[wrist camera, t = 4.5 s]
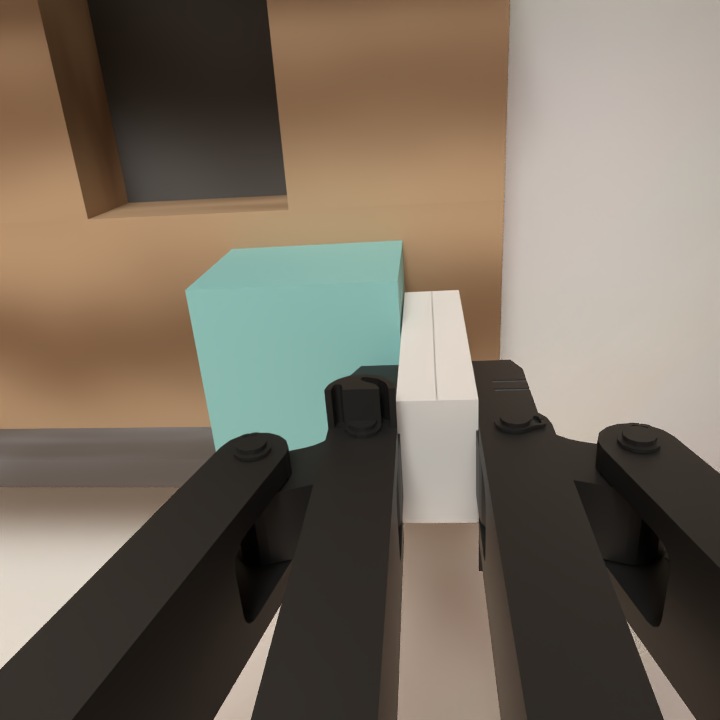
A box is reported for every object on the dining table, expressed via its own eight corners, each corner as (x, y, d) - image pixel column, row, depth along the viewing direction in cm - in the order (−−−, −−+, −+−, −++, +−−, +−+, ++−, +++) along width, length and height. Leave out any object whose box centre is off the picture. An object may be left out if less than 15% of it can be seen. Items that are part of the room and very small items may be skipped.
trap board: (-410, -34, 20) (-660, -69, 15) (499, -125, 17) (528, -202, 12) (-199, 416, 26) (-330, 486, 22) (487, 407, 23) (504, 487, 19)
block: (231, 249, 18) (185, 290, 15) (402, 240, 18) (397, 280, 14) (255, 400, 20) (219, 469, 17) (409, 397, 20) (406, 467, 16)
